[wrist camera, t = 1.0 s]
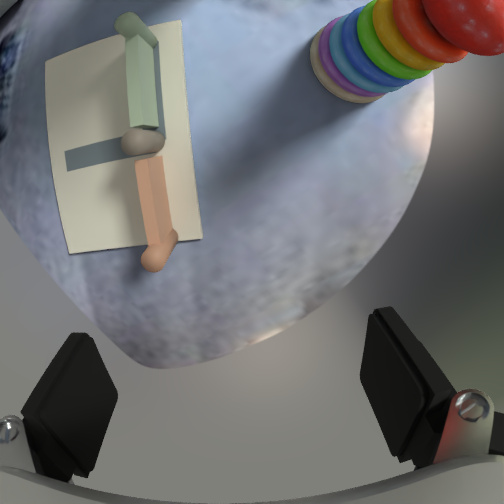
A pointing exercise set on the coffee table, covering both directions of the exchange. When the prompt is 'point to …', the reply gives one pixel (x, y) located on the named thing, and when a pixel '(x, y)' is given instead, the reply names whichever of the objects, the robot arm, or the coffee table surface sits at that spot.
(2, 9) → the ceramic mug
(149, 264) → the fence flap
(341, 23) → the stacking toy
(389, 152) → the coffee table surface
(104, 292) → the coffee table surface
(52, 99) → the board
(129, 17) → the bar
